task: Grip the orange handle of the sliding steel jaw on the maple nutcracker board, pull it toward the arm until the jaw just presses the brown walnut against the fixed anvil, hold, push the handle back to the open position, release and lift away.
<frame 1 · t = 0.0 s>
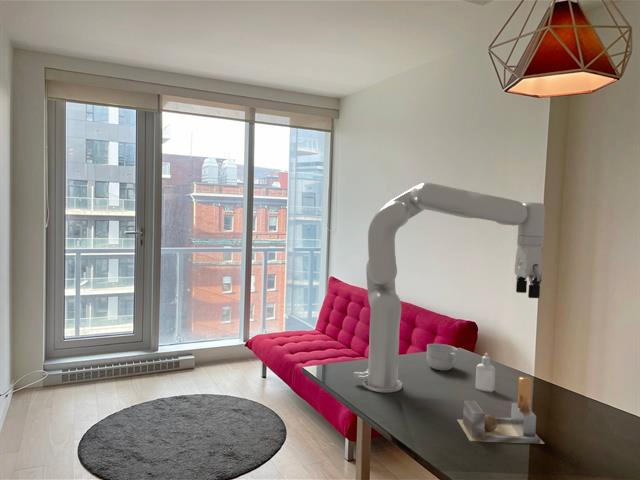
hand: (527, 295, 153), 31 cm above the table, fingers open, 9 cm apart
eye dropper bottle: (484, 390, 155), on the table
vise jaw: (523, 404, 122), point 9 cm above the table, slide at 0.0 cm
walnut: (488, 430, 123), point 1 cm above the table, touching cracker board
teacup: (443, 370, 175), on the table
cracker board: (498, 436, 123), on the table
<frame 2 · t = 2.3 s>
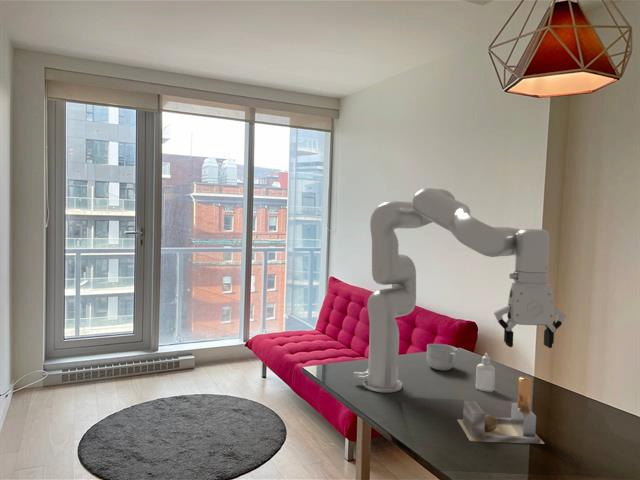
hand: (528, 346, 121), 24 cm above the table, fingers open, 9 cm apart
nothing on the table moved.
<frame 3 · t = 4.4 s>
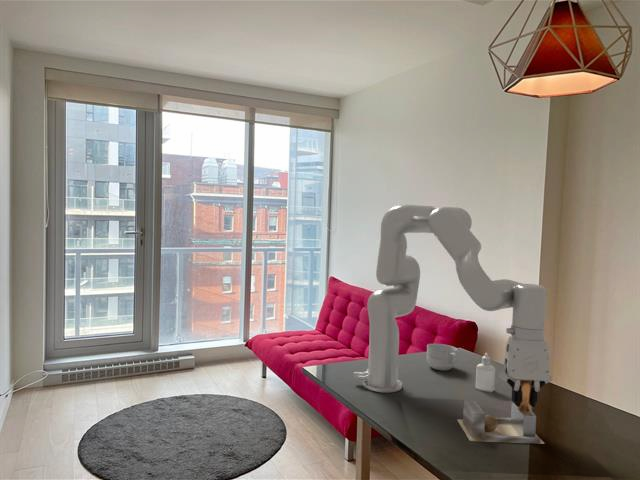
hand: (523, 404, 122), 9 cm above the table, fingers closed on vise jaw, 3 cm apart
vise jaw: (523, 404, 122), point 9 cm above the table, slide at 0.0 cm, touching gripper
everything else where it was.
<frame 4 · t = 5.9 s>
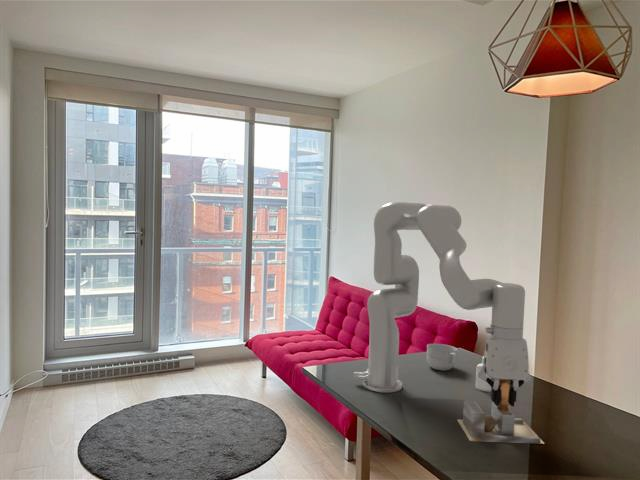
hand: (503, 403, 122), 9 cm above the table, fingers closed on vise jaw, 3 cm apart
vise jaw: (503, 403, 122), point 9 cm above the table, slide at 5.2 cm, touching gripper
walnut: (488, 430, 123), point 2 cm above the table, tilted 14°, touching cracker board
everything else where it was.
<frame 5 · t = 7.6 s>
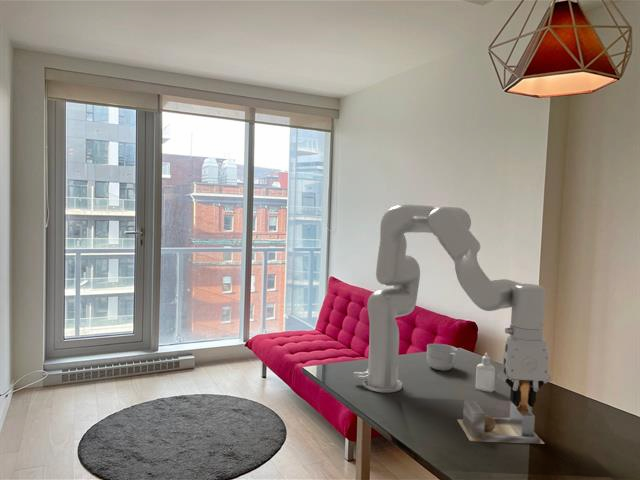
hand: (522, 404, 122), 9 cm above the table, fingers closed on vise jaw, 3 cm apart
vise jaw: (522, 404, 122), point 9 cm above the table, slide at 0.3 cm, touching gripper
everything else where it was.
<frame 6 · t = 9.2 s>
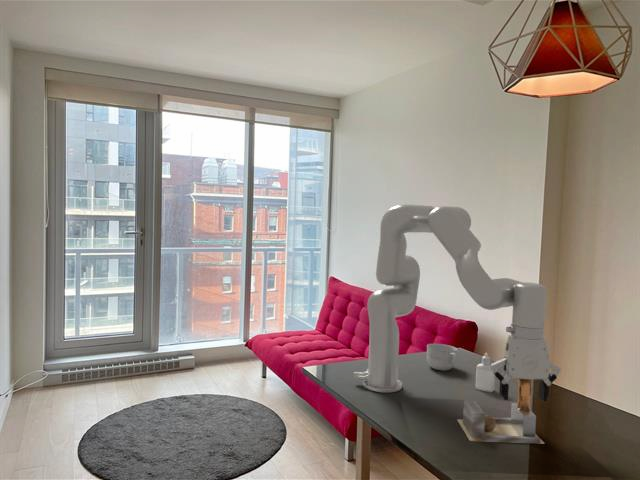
hand: (523, 398, 122), 10 cm above the table, fingers open, 9 cm apart
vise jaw: (523, 404, 122), point 9 cm above the table, slide at 0.0 cm
everything else where it was.
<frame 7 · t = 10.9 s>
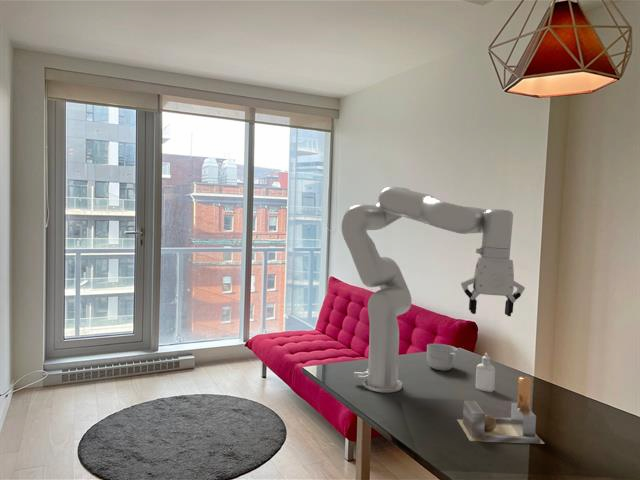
hand: (490, 314, 135), 29 cm above the table, fingers open, 9 cm apart
nothing on the table moved.
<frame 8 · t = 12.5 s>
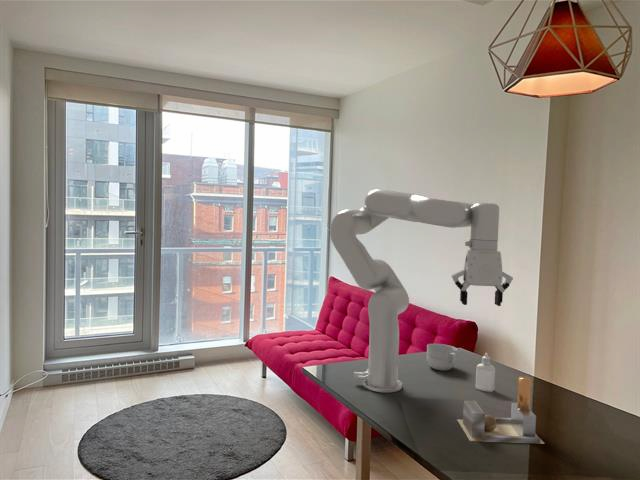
hand: (480, 304, 140), 30 cm above the table, fingers open, 9 cm apart
nothing on the table moved.
at the end: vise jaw slide at 0.0 cm; walnut moved 0.0 cm from its start; the gripper is holding nothing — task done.
